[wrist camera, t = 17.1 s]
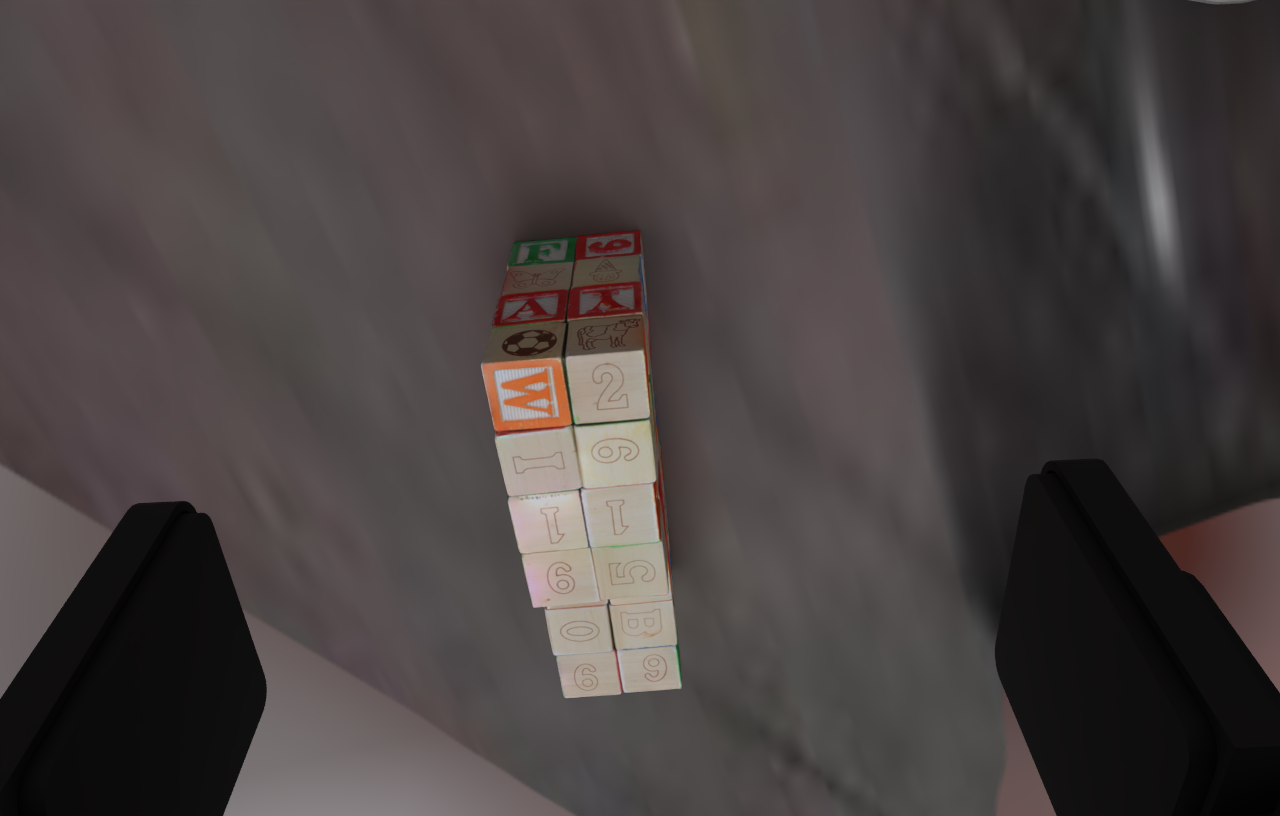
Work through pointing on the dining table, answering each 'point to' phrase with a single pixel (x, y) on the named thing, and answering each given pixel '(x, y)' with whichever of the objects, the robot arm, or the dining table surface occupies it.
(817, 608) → the dining table surface
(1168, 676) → the robot arm
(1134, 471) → the dining table surface
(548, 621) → the stack of blocks
